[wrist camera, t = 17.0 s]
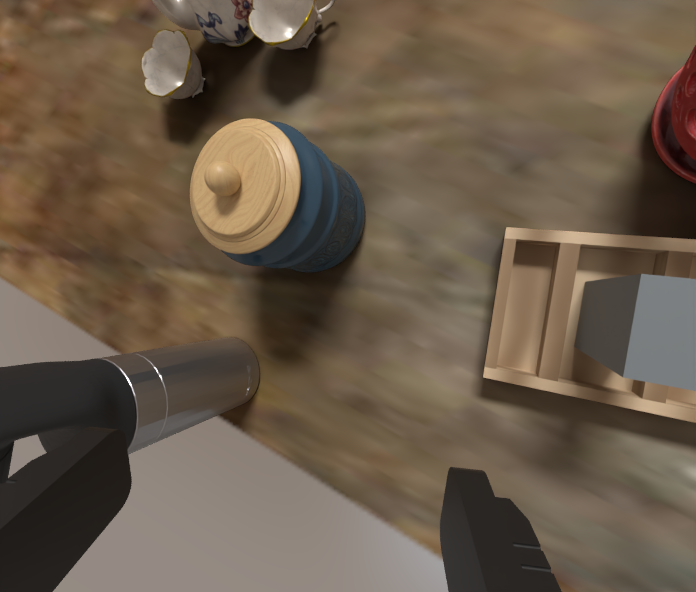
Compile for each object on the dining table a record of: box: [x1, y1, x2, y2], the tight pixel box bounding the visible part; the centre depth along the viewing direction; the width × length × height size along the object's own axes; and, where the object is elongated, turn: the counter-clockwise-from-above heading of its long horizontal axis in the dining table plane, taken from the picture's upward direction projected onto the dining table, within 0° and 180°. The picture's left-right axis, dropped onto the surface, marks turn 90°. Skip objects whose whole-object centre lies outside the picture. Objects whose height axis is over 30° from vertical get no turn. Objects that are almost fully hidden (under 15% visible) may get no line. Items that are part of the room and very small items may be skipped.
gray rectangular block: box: [574, 274, 696, 391], centre depth 26 cm, size 4×6×13 cm, turn 172°
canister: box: [190, 119, 365, 272], centre depth 35 cm, size 13×13×18 cm
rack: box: [483, 227, 696, 423], centre depth 31 cm, size 18×14×3 cm
